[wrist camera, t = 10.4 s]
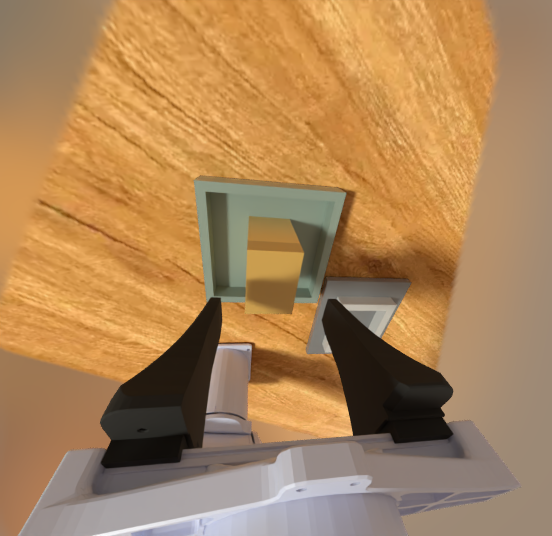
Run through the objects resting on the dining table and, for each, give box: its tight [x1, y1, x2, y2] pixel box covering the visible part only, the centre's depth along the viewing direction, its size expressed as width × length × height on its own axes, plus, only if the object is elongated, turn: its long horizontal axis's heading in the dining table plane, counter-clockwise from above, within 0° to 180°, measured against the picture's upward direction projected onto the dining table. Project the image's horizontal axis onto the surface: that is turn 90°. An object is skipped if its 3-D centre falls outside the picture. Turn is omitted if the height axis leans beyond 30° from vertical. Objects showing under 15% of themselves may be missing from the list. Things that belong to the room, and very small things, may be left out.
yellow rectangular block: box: [245, 216, 304, 314], centre depth 19 cm, size 6×4×7 cm, turn 174°
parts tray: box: [194, 176, 346, 303], centre depth 21 cm, size 13×13×2 cm
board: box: [306, 277, 411, 354], centre depth 29 cm, size 14×11×2 cm
